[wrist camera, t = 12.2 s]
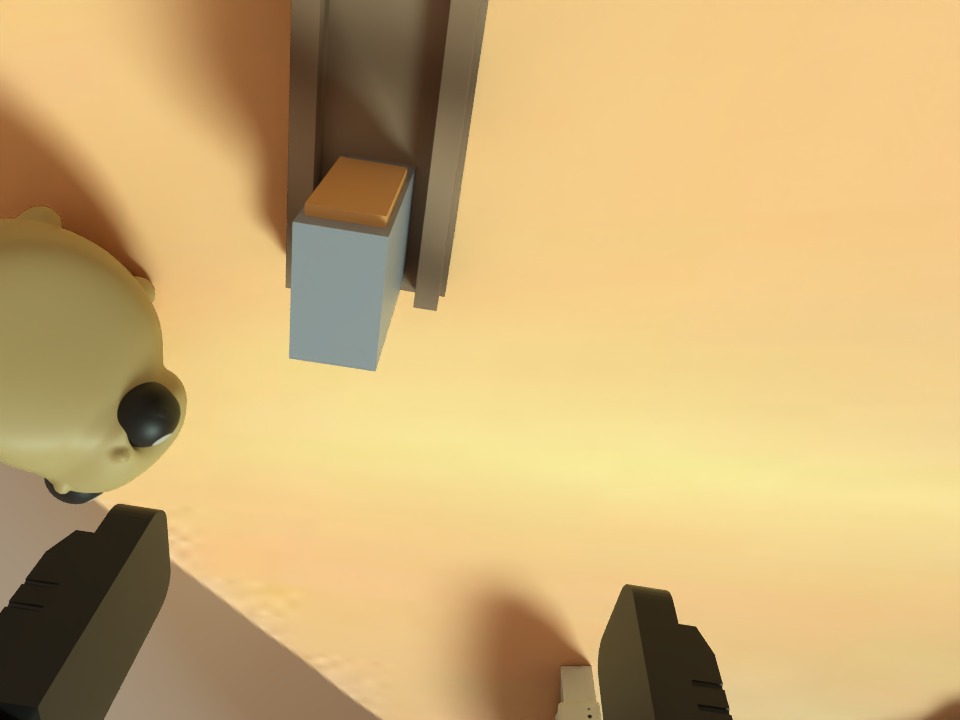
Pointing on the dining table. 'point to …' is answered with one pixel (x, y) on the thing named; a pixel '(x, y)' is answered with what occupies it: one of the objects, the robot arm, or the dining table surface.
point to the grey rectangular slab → (577, 695)
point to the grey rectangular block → (349, 262)
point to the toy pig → (79, 362)
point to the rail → (387, 110)
